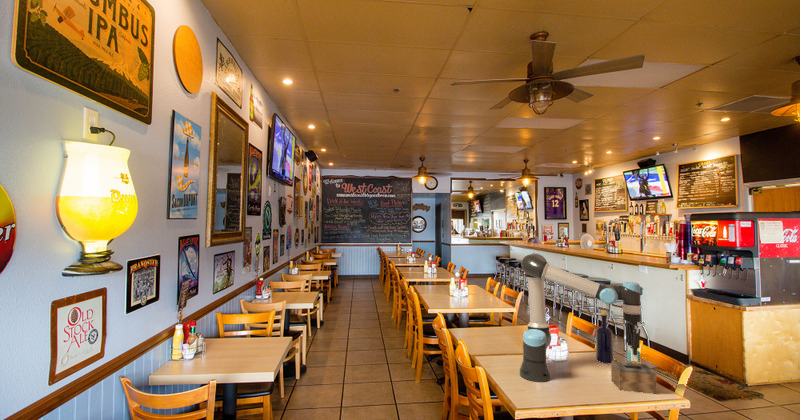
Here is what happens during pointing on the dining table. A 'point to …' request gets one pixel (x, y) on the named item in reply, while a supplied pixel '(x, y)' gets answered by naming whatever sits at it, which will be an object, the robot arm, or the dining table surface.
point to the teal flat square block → (630, 356)
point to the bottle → (604, 341)
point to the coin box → (633, 377)
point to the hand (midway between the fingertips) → (633, 359)
